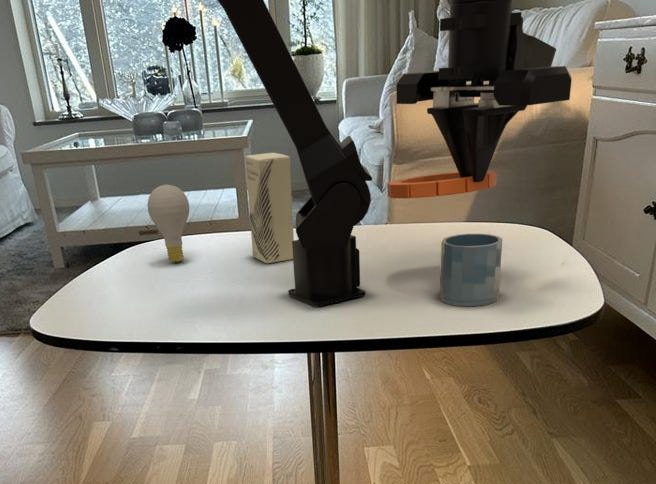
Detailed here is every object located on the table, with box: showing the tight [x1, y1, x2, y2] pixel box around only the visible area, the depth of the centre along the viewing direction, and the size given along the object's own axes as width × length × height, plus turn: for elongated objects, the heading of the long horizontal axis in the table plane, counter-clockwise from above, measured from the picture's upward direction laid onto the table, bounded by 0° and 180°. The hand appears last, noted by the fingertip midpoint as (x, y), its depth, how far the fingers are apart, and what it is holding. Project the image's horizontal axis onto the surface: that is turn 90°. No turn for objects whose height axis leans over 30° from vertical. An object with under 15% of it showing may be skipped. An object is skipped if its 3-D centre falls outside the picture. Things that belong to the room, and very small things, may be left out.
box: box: [244, 152, 295, 264], centre depth 97 cm, size 5×4×13 cm
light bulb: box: [146, 184, 190, 264], centre depth 100 cm, size 6×5×10 cm
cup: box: [439, 233, 503, 307], centre depth 78 cm, size 6×6×6 cm
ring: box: [386, 169, 498, 199], centre depth 81 cm, size 11×11×1 cm
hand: (472, 181), depth 77 cm, fingers closed on ring, 1 cm apart
